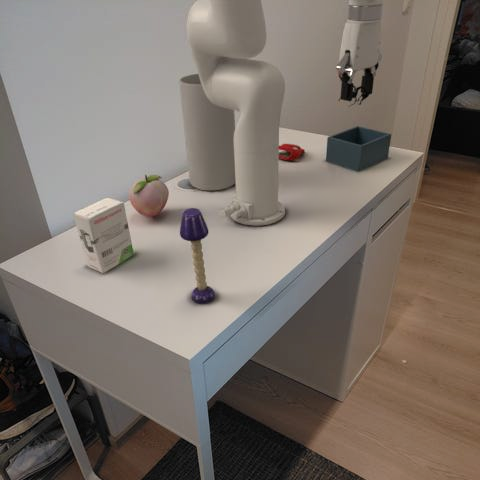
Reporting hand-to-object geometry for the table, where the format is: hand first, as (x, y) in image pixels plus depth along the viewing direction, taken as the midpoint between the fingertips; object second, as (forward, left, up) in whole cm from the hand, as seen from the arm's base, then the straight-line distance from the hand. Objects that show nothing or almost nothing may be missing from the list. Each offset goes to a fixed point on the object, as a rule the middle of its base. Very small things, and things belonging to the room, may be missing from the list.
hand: (356, 96), depth 121 cm
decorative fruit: (-55, +14, -18) cm, 60 cm away
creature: (-1, 0, -2) cm, 2 cm away
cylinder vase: (-33, +19, -18) cm, 42 cm away
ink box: (-72, +3, -18) cm, 75 cm away
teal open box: (+6, +2, -18) cm, 19 cm away
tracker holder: (-5, +19, -18) cm, 27 cm away
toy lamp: (-67, -20, -18) cm, 73 cm away
